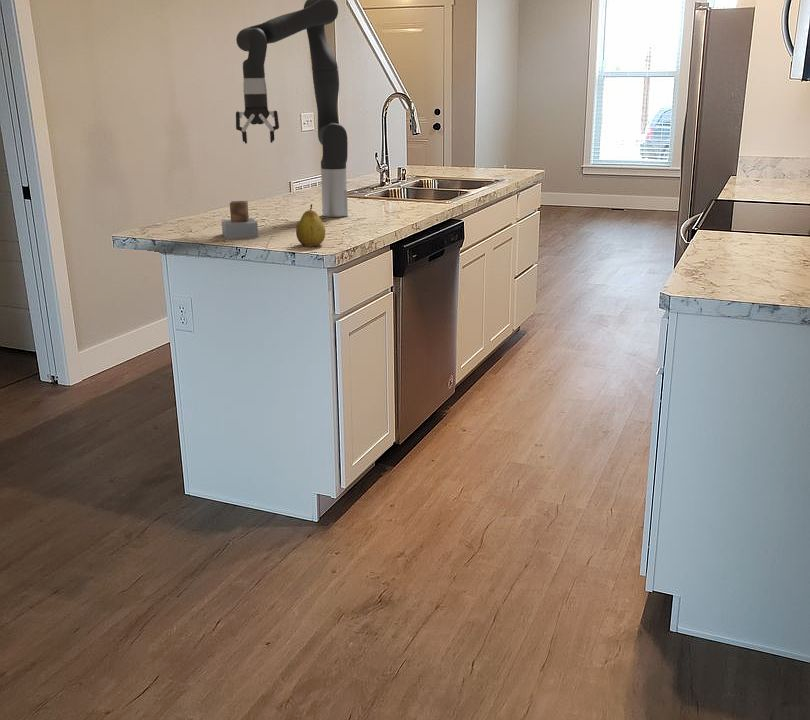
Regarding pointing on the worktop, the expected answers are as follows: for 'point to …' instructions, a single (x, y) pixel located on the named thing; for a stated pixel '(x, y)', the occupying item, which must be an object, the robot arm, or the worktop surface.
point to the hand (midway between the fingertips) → (258, 143)
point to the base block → (239, 229)
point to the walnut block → (239, 211)
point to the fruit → (310, 229)
